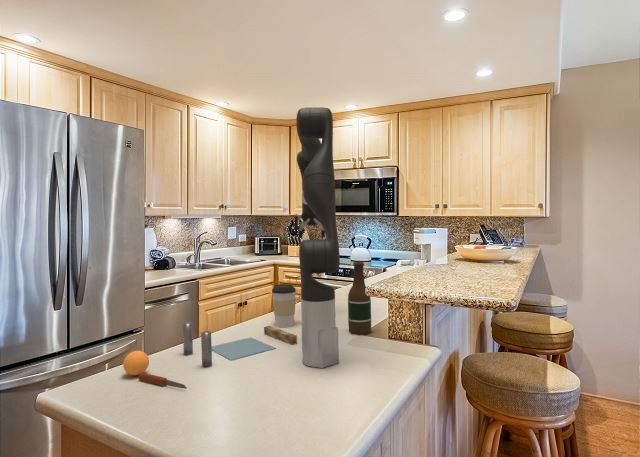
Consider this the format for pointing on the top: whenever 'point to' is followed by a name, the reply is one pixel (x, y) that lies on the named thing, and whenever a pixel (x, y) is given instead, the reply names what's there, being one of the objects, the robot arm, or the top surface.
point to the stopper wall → (280, 335)
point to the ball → (136, 363)
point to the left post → (187, 338)
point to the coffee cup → (284, 304)
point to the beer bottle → (359, 304)
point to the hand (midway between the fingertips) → (311, 238)
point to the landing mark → (241, 348)
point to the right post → (206, 349)
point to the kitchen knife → (159, 380)
